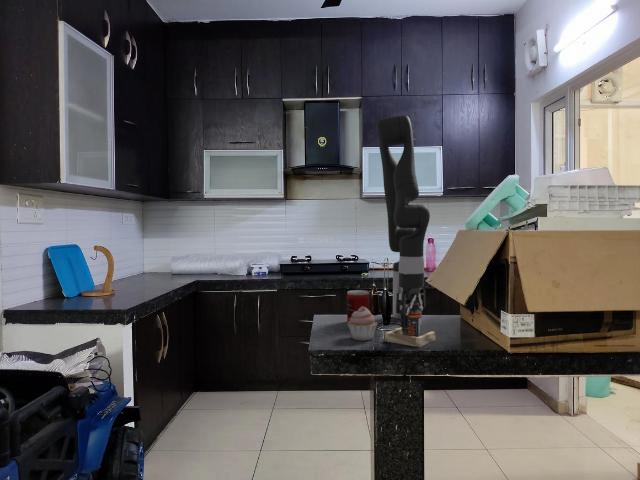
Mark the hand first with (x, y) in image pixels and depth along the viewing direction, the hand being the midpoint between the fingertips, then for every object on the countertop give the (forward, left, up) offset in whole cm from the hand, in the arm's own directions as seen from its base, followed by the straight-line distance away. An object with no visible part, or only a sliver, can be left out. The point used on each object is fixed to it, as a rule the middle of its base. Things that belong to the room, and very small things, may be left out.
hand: (411, 325), depth 151 cm
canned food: (-12, -27, -5) cm, 30 cm away
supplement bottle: (0, 0, -5) cm, 5 cm away
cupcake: (+7, -13, -5) cm, 15 cm away
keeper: (0, 0, -5) cm, 5 cm away
